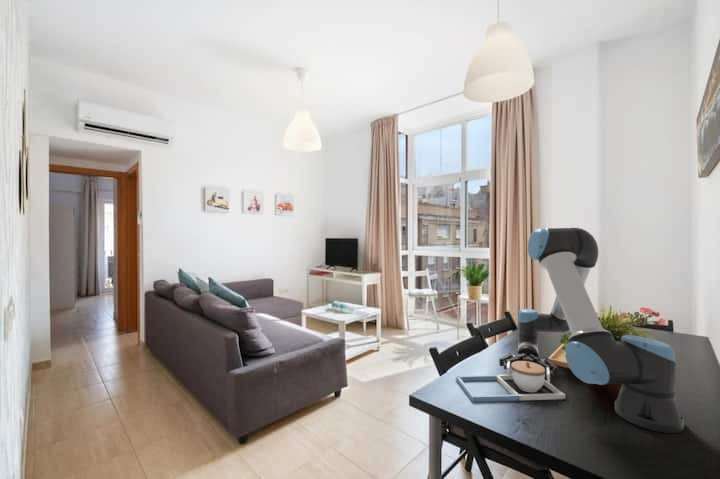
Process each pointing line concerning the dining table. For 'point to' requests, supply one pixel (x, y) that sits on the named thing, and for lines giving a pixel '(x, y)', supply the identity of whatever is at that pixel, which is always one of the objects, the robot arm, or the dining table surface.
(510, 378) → the white square frame
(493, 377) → the blue bezel
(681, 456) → the dining table surface
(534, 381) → the lidded jar
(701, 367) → the dining table surface
